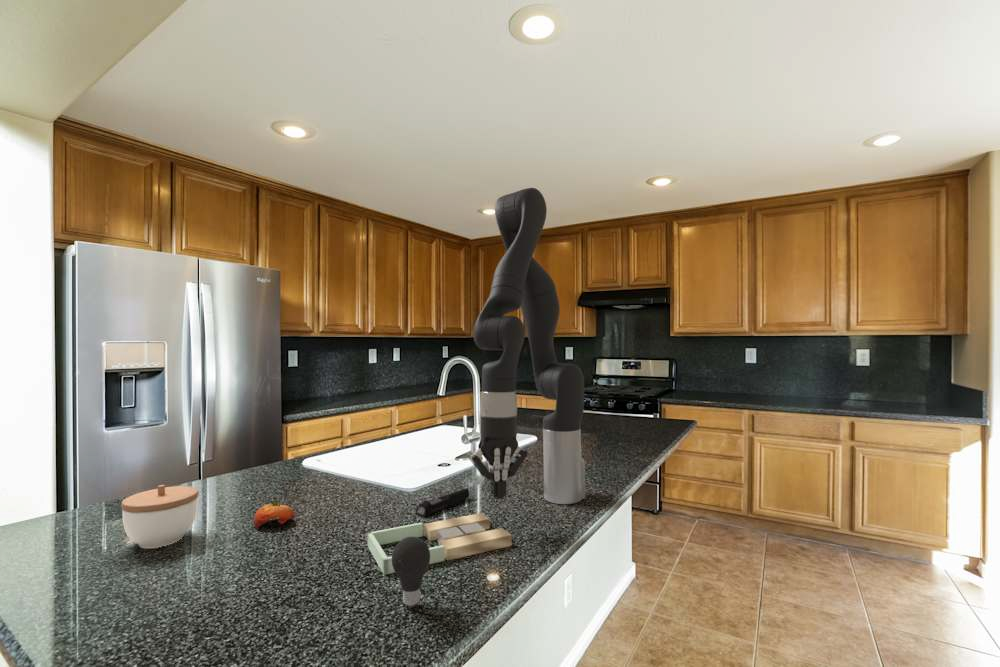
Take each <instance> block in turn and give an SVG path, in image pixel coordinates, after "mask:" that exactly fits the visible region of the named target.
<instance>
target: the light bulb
mask: <svg viewBox="0 0 1000 667" xmlns="http://www.w3.org/2000/svg"><path fill="white" fill-rule="evenodd" d="M429 548H430V547H429V546H428V545H427V543H426V542H425V541H424V540H423V539H421V538H420V537H407V538H404V539H402V540H401V541H398V543H396V545H395V547H394V549H393V550H392V554H391V556H392V566H393V568H394V571H395V572H394V573H395V574H396V576H397V577H398V579H399V582H400V587H401V589H402V600H403V604H405V605H406V606H408V607H409V608H413V607H415V606H416V605H417V604H418V603H420V598H421V587H422V583H423V578H424V576H425V573H426V572H427V570H428V568H429V565H430V564H429V562H430V551H429Z"/></svg>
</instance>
